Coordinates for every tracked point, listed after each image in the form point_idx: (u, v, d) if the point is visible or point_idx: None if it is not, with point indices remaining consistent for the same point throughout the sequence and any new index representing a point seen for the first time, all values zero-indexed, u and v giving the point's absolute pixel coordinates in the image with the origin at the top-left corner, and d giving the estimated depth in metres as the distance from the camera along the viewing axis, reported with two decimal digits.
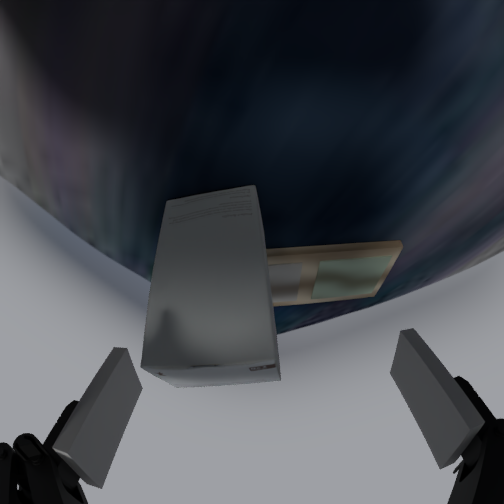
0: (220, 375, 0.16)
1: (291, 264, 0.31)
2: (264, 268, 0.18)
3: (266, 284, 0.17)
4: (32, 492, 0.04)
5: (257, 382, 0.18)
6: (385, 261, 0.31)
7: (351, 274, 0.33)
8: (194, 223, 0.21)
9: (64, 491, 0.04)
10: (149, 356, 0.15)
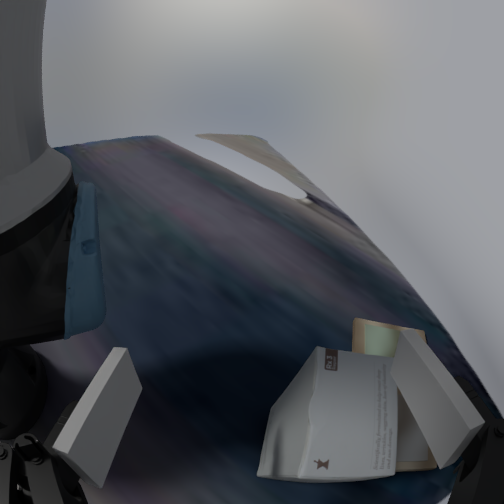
0: (340, 401, 0.13)
1: None
2: (292, 380, 0.20)
3: (296, 375, 0.19)
4: (32, 492, 0.04)
5: (393, 380, 0.14)
6: (371, 328, 0.36)
7: (386, 352, 0.33)
8: (267, 445, 0.20)
9: (64, 491, 0.04)
10: (295, 467, 0.11)
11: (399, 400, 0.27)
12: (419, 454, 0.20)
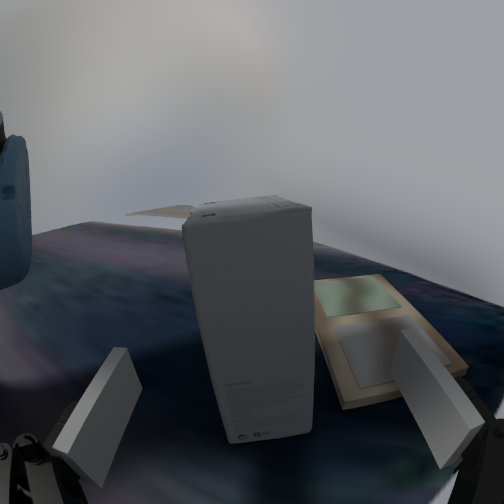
0: (220, 204, 0.16)
1: (336, 333, 0.25)
2: None
3: None
4: (32, 492, 0.04)
5: (277, 197, 0.18)
6: (320, 283, 0.37)
7: (344, 295, 0.33)
8: None
9: (64, 491, 0.04)
10: None
11: (379, 324, 0.26)
12: None
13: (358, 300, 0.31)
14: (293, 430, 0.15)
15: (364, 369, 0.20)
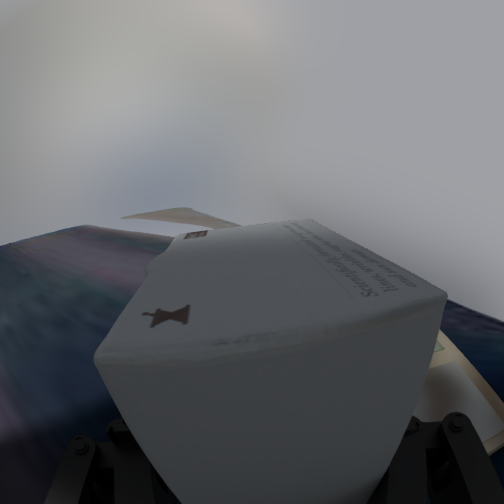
0: (212, 247, 0.08)
1: None
2: None
3: None
4: (115, 479, 0.05)
5: (319, 227, 0.10)
6: None
7: None
8: None
9: (155, 482, 0.06)
10: None
11: None
12: (491, 426, 0.10)
13: None
14: None
15: None
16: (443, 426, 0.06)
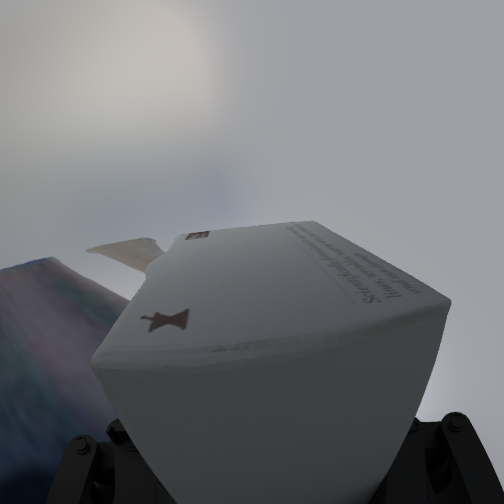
0: (213, 249, 0.08)
1: None
2: None
3: None
4: (116, 479, 0.05)
5: (321, 229, 0.09)
6: None
7: None
8: None
9: (156, 482, 0.06)
10: None
11: None
12: None
13: None
14: None
15: None
16: (442, 426, 0.06)
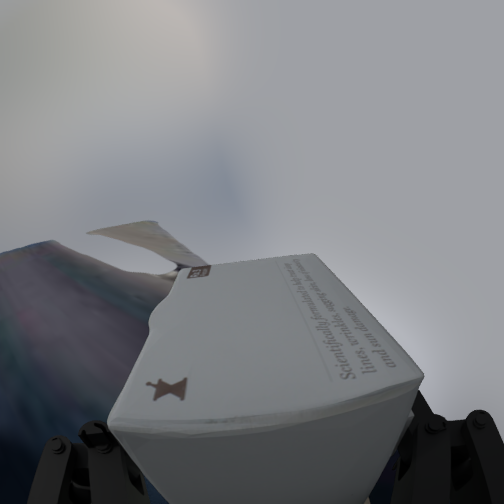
0: (212, 296, 0.08)
1: None
2: None
3: None
4: (91, 481, 0.05)
5: (319, 266, 0.10)
6: None
7: None
8: None
9: (129, 484, 0.06)
10: None
11: None
12: None
13: None
14: None
15: None
16: (467, 423, 0.06)
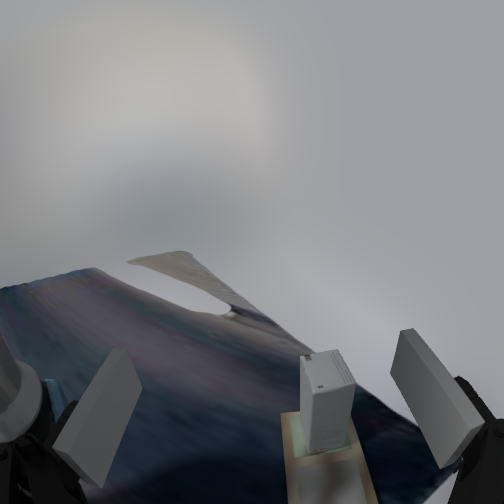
0: (317, 367, 0.34)
1: (297, 473, 0.30)
2: (300, 386, 0.39)
3: (300, 380, 0.38)
4: (32, 492, 0.04)
5: (339, 355, 0.36)
6: (295, 418, 0.41)
7: None
8: (305, 428, 0.35)
9: (64, 491, 0.04)
10: (311, 394, 0.30)
11: (329, 467, 0.30)
12: (358, 501, 0.23)
13: None
14: (336, 446, 0.33)
15: None
16: None
